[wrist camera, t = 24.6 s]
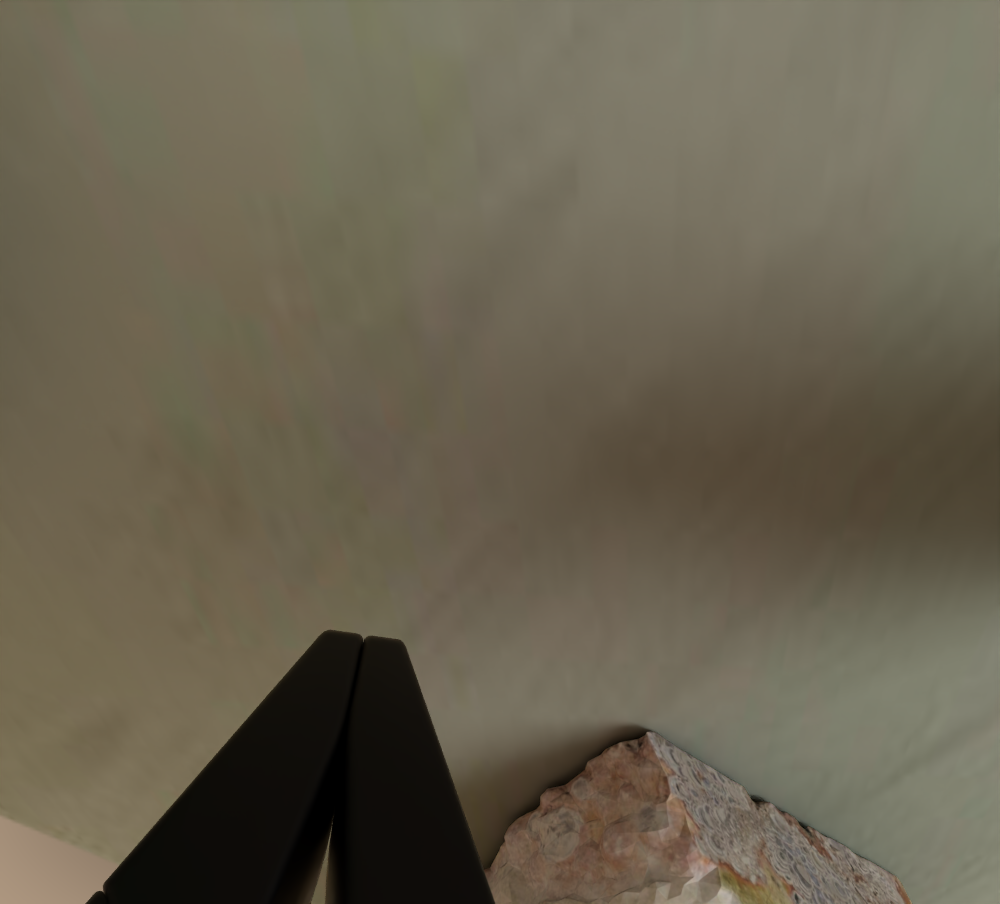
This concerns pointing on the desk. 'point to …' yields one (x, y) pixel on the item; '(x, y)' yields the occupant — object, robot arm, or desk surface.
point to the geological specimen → (673, 842)
